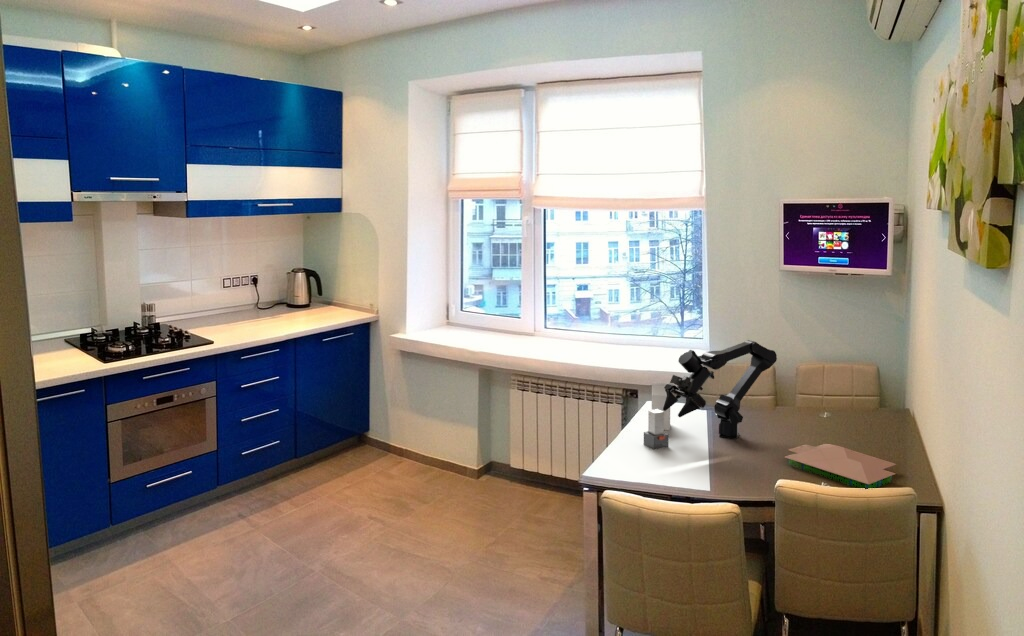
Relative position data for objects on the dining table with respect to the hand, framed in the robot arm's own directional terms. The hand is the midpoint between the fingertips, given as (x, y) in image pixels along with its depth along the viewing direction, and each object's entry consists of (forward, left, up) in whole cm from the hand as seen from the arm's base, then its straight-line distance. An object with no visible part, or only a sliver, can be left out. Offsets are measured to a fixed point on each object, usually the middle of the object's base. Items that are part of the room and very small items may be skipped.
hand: (671, 413), depth 270 cm
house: (-58, +2, -13) cm, 59 cm away
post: (+4, +5, -11) cm, 13 cm away
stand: (+4, +5, -13) cm, 14 cm away
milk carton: (+8, -18, -13) cm, 24 cm away
